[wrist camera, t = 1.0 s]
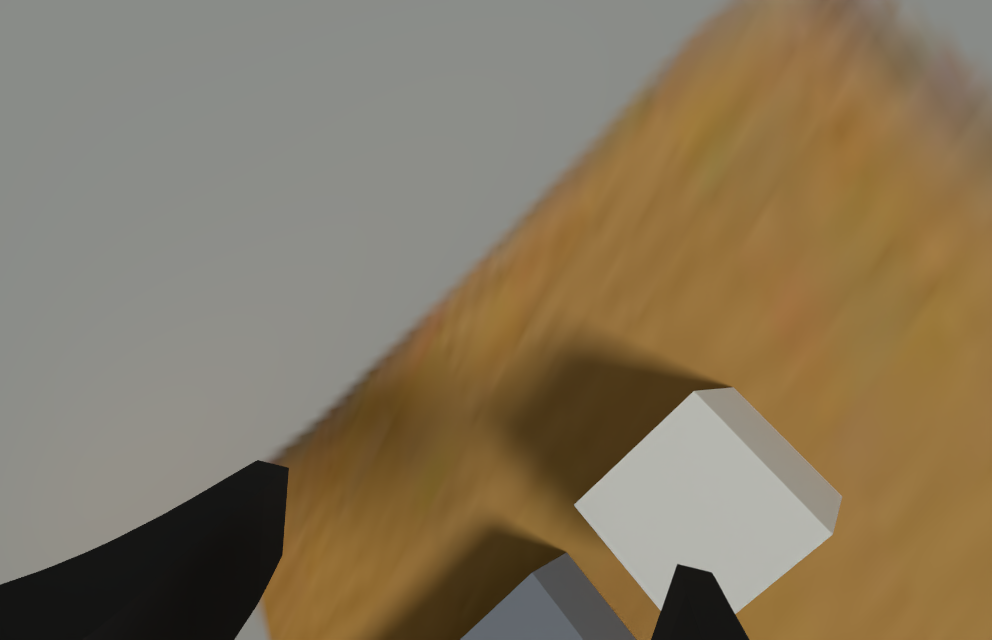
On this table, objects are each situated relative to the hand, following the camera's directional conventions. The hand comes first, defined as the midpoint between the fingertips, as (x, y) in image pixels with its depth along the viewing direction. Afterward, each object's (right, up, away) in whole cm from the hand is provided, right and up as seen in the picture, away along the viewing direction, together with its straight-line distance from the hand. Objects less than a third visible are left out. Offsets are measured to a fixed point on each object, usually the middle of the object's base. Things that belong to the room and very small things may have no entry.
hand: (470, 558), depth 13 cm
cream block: (+8, -1, +11) cm, 13 cm away
